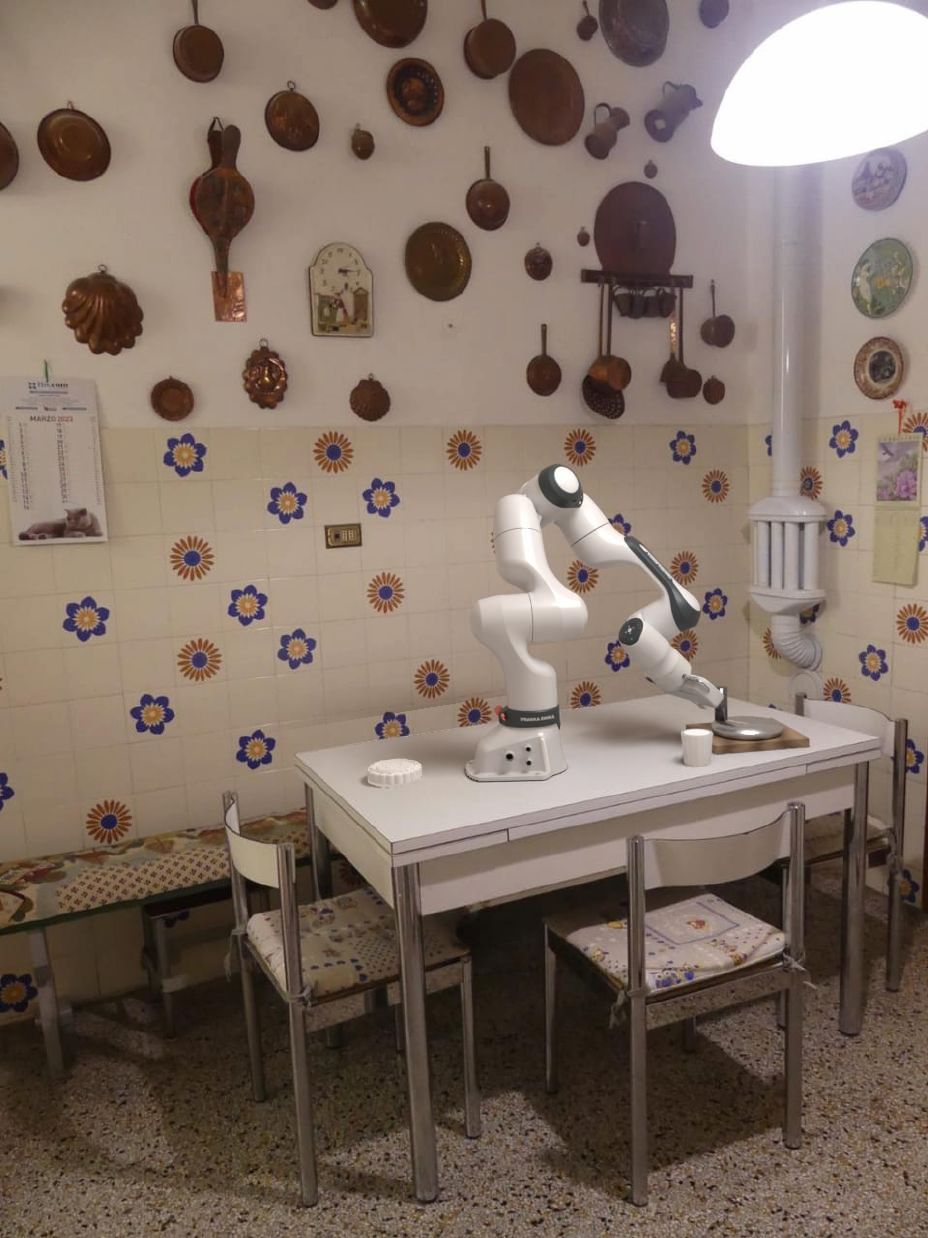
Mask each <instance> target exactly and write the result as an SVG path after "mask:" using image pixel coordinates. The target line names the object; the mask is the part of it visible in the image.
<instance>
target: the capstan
mask: <svg viewBox="0 0 928 1238" xmlns="http://www.w3.org/2000/svg"><path fill="white" fill-rule="evenodd" d="M714 686H715V685H714ZM715 687H716V688H717V689H718V690H719V691H720V692H721V693H722V694H723V696H724V699H723V700H722V702H721V703H720V704H719V706H718V707H717V708H714V720H713V721H712V732H713V733H714V734H716V735H719V736H722V737H726V738H732V739H743V740H758V739H768V738H773V737H777V736H779V735H781V734H782V733H783V724H784V723H783V722H781V721H779V720H777V719H775V718H773V719H770V718H771V717H763V716H753V715H736V716H729V715H728V714H729V713H728V686H725V685H716V686H715ZM774 719H775V720H774ZM782 723H783V724H782Z"/></svg>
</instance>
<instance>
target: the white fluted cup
mask: <svg viewBox="0 0 928 1238" xmlns="http://www.w3.org/2000/svg"><path fill="white" fill-rule="evenodd" d="M680 738H681V746H682V747H681V748H682V755H683V756H682V757H683V763H684V765H685V766H688V767H693V768H704V767H708V766H711V764H712V753H713V752H712V741H713V732H712V731H710V730H706V729H687V730H686V729H684V730H682V731H681V732H680Z"/></svg>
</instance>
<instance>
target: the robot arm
mask: <svg viewBox="0 0 928 1238" xmlns="http://www.w3.org/2000/svg"><path fill="white" fill-rule="evenodd" d="M583 491H584V490H583V487H582V484H581V481H580V478H579V477H578V476H577V474H576V473H575V471H573V470H572V469H571V468H570V467H568V466H566V465H564V464H561V463H554V464H550V465H549V466H546V467H545V468H543V469H542V470H540V472H539V473H538V474H537V475H534V476H533V477H532V478H531V479H529V481H527V482H525V483H524V484H523V485H522V486H521V487H520V488H519V489H518V490H517V491H516V492H515V493H513V494H508V495H505V496H503V497H502V498H499V499H498V501H496V504H495V506H494V508H493V516H492V517H493V518H492V537H493V546H494V556H495V561H496V562H495V563H496V564H495V565H496V570H497V573H498V575H499V576H500V577H501V579H502V580H503V581H505V583H507V584H509V585H511V586H514V587H517V588H519V590H521V591H522V592H521V593H509V594H497V595H493V596H489V597H488V596H487V597H484V598H480V599H478V600H477V601H476V602H475V603H474V604H473V606H472V608H471V609H470V612H469V617H468V622H469V623H468V624H469V629H470V631H471V634H472V635H473V637H474V638H475V640H477V641H478V642H479V643H480V644H482V645H484V646H485V647H486V648H487V649H488V650H490V652H491V653H492V654H493V655H494V656H495V657H496V659H497V660H498V662H499V665H500V666H501V669H502V672H503V677H504V683H505V691H506V705H505V706H503V707H502V706H501V705H495V707H494V708H493V710H494V712H493V713H495V715H496V716H497V717H498V723H497V725H496V726H494V727H493V728H492V729H491V730H489V731H488V732H487V733H486V734H485V735H483V736H482V737H481V738H480V739H479V740H478V742H477V743H476V747H475V752H474V759H471V760H469V761H467V763H466V764H465V769H466V771H465V773H467V774H468V775H467V774H466V775H467V777H468V776H469V777H468V778H470V777H471V778H472V779H471V778H470V779H471V780H473V779H475V780H474V781H476V780H478V781H477V782H507V781H511V782H512V781H544V780H547V779H549V778H551V777H552V776H553V775H558V774H560V773H562V772H564V771H565V770H566V769H567V768H568V764H567V761H566V757H565V754H564V750H563V749H564V748H563V746H562V739H561V733H560V730H561V723H562V720H561V708H560V704H559V703H558V687H557V686H558V685H557V684H558V682H557V672H556V670H555V668H554V667H553V665H551V664H550V663H548V662H547V661H545V660H543V659H542V658H539V657H536V656H533V655H531V654H530V653H529V651H528V648H527V646H528V645H531V644H540V643H556V642H564V641H568V640H570V639H574V638H578V637H580V636H581V635H582V633H584V632H585V631H584V630H585V629H586V627H587V624H588V620H589V619H588V618H589V612H588V607H587V605H586V603H585V601H584V599H583V598H582V597H581V596H580V595H579V594H577V593H575V592H574V591H573V590H570V589H568V588H567V587H566V586H564V584H562V583H561V582H560V581H559V580H558V579H557V577H556V576H555V575H554V573H553V572H552V570H551V568H550V565H549V563H548V559H547V555H546V549H545V546H544V538H543V532H542V529H543V528H545V527H547V526H548V525H550V524H551V523H552V522H553V524H554V525H555V526H557V527H558V528H559V530H560V532H561V533H562V535H563V538H564V540H565V541H566V543H567V544H568V546H569V548H570V549H571V551H572V552H573V554H574V555H575V557H576V558H577V559H578V560H579V562H580V563H581V564H582V565H583V566H585V567H587V568H588V569H589V568H590V569H593V570H606V569H611V568H616V567H622V566H630V567H631V566H632V567H635V568H637V569H638V570H640V572H642V573H643V574H644V575H645V577H646V578H647V579H648V580H649V581H650V582H651V584H652V585H654V587H656V589H657V590H658V591H659V592H660V593H661V595H660V597H658V598H656V599H655V600H653V601H652V602H650V603H649V604H647V605H645V606H643V607H641V608H640V609H638V610H636V611H635V612H633V613H632V614H631V615H629V616H628V617H627V618H626V619H625V622H624V623H623V624H622V626H621V627H620V629H619V631H618V634H617V636H618V642H619V644H620V646H621V647H622V648H623V650H624V652H625V653H626V654H627V655H628V657H629V658H630V660H632V661H633V662H634V663H635V665H637V666H638V668H641V669H642V670H644V671H645V673H644V674H643V678H644V679H645V680H646V681H647V682H650V683H652V684H653V685H655V686H656V687H657V688H658V689H659V690H661V691H662V692H663V693H665V694H668V695H670V696H674V697H676V698H680V699H682V700H683V699H684V700H687V701H690V702H691V703H693V704H694V705H696V706H697V707H698V708H699V709H701V710H705V711H709V710H711V709H712V708H713V709H715V708H717V707H718V706H719V704H720V703H721V702H722V700H723V699H724V696H723V694H722V693H721V692H720V691H719V690H718V689H717V688H716V687H715V685H713V683H711V682H710V681H709V680H707V679H706V678H705V677H702V676H699V675H695V674H692V665H691V663H690V662H689V661H688V659H686V658H685V656H684V655H682V654H681V653H680V652H679V650H677V649H676V648H674V647H672V646H671V645H670V643H669V641H670V640H671V639H673V638H674V637H676V636H678V635H680V634H681V633H685V632H687V631H689V630H691V629H693V628H695V627H696V626H698V623H699V621H700V618H701V614H702V608H701V607H702V606H701V605H700V603H699V601H698V600H697V598H696V597H695V596H694V595H693V594H692V593H691V592H690V591H689V590H688V589H687V588H686V587H685V586H684V585H682V583H680V582H679V580H678V579H676V578H675V576H674V575H673V574H672V573H671V572H670V571H669V570H668V569H667V568H666V567H665V566H664V564H663V563H662V562H661V561H660V560H659V559H658V558H657V557H656V556H655V555H654V554H653V552H652V551H651V550H650V549H648V547H647V546H646V545H645V544H643V543H642V542H641V541H640V540H639V539H637V538H636V537H634V536H632V535H624V534H623V533H620V532H619V531H617V530H616V529H615V528H614V527H613V526H612V524H611V523H610V521H609V520H608V518H607V517H606V515H605V514H604V513H603V511H602V510H601V509H600V507H599V506H598V505H597V504H596V503H595V502H594V500H592V498H591V497H589V496H588V494H586V493H584V492H583Z"/></svg>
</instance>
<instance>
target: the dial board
mask: <svg viewBox="0 0 928 1238" xmlns="http://www.w3.org/2000/svg"><path fill="white" fill-rule="evenodd" d="M769 718H770V719H774V720H776V719H775V718H773V717H769ZM712 722H713V721H712ZM712 722H700V723H689V724H688V723H687V724H686V723H685V730H687V729H706V730H710V731H712ZM781 723H782V724H783V733H782V734H781V735H779V736H777V737H773V738H768V739H758V740H743V739H732V738H726V737H722V736H719V735H716V734H714V733H713V741H712V753H713V755H715V754H716V755H727V754H726V753H730V754H739V753H740V754H741V753H750V752H751V753H752V752H761V751H762V752H765V751H776V750H777V749H779V750H786V748H791V749H799V748H798V747H803V748H809V747H810V738H809V737H808V736H806V735H805V734H802V733H800V732H799V731H797V730H795V729H794V728H792V727H790V726H788V725H786V724H784V723H783V722H781ZM808 746H809V747H808ZM777 751H778V750H777Z"/></svg>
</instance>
